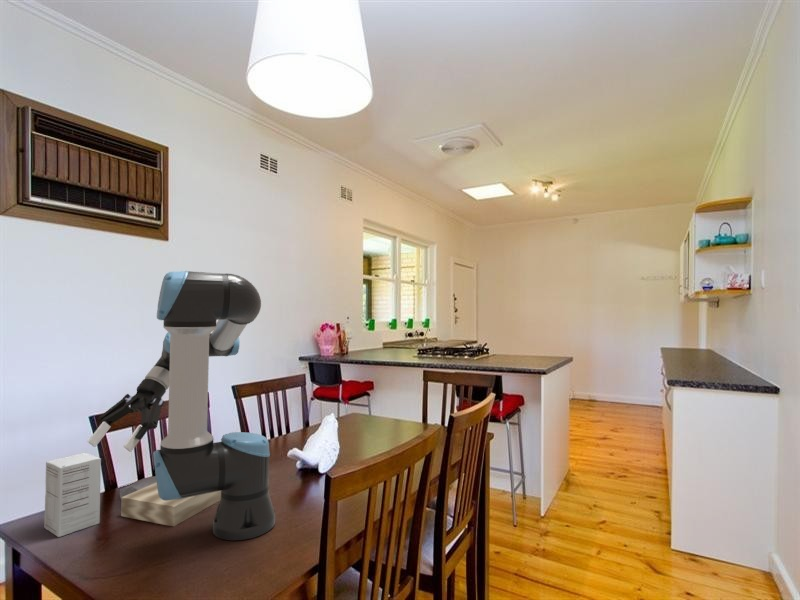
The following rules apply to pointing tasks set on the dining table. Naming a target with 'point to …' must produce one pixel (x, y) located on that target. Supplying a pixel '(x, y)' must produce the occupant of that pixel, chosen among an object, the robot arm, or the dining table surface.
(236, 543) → the dining table surface
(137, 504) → the birch stacking block
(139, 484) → the grey block
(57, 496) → the supplement box
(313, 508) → the dining table surface
